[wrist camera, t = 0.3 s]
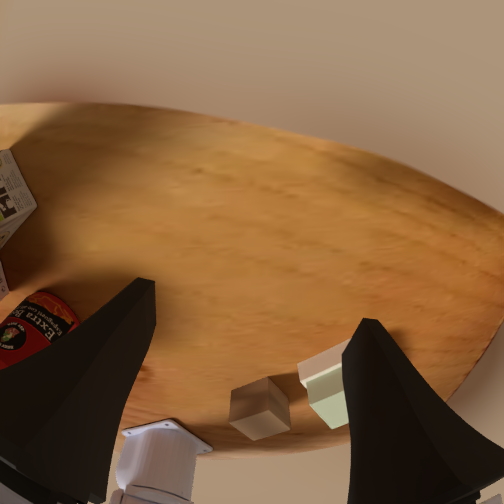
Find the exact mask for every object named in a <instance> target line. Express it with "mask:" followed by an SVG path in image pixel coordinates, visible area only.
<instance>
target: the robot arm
mask: <svg viewBox="0 0 504 504" xmlns="http://www.w3.org/2000/svg"><path fill="white" fill-rule="evenodd" d="M155 326H156V306H155V281H152V280H148V279H143V278H139V277H138V278H136V279H135V280H134V281H133V282H131V283H130V284H129V285H128V286H127V287H125V288H124V289H123V290H122V291H121V292H120V293H118V294H117V295H116V296H115V297H114V298H112V299H111V300H110V301H109V302H108V303H106V304H105V305H104V306H103V307H101V308H100V309H99V310H98V311H97V312H95V313H94V314H93V315H92V316H90V317H89V318H88V319H86V320H85V321H84V322H82V323H81V324H80V325H78V326H77V327H76V328H74V329H73V330H72V331H70V332H69V333H67V334H66V335H64V336H63V337H61V338H60V339H58V340H57V341H55V342H54V343H52V344H50V345H49V346H47V347H45V348H44V349H42V350H40V351H38V352H36V353H35V354H33V355H31V356H29V357H27V358H25V359H23V360H21V361H19V362H17V363H15V364H13V365H11V366H8V367H6V368H4V369H1V370H0V504H77V503H78V504H87V503H88V501H89V502H91V503H94V504H100V503H103V502H105V501H106V493H107V485H108V476H109V471H110V465H111V459H112V454H113V449H114V445H115V440H116V436H117V432H118V428H119V424H120V420H121V417H122V413H123V409H124V407H125V404H126V401H127V398H128V396H129V393H130V391H131V389H132V386H133V384H134V382H135V379H136V377H137V374H138V372H139V370H140V368H141V365H142V363H143V361H144V358H145V356H146V354H147V351H148V349H149V346H150V343H151V339H152V336H153V333H154V329H155ZM341 355H342V381H343V388H344V394H345V401H346V407H347V414H348V420H349V427H350V437H351V469H350V485H349V493H348V501H347V504H476V500H477V499H480V497H481V495H480V490H482V489H484V488H486V487H487V486H489V485H491V484H493V483H495V482H496V481H498V480H500V479H501V478H503V477H504V449H503V448H502V447H500V446H499V445H497V444H495V443H494V442H492V441H490V440H489V439H487V438H486V437H484V436H483V435H482V434H480V433H479V432H478V431H476V430H475V429H474V428H472V427H471V426H470V425H469V424H468V423H466V422H465V421H464V420H463V419H462V418H461V417H460V416H458V415H457V414H456V413H455V412H454V411H453V410H452V409H451V408H450V407H449V406H448V405H447V404H446V403H445V402H444V401H443V400H442V399H441V398H440V397H439V396H438V395H437V394H436V392H435V391H434V390H433V389H432V388H431V387H430V386H429V384H428V383H427V382H426V381H425V380H424V378H423V377H422V376H421V375H420V373H419V372H418V371H417V370H416V368H415V367H414V366H413V365H412V363H411V362H410V361H409V359H408V358H407V357H406V355H405V354H404V353H403V351H402V350H401V349H400V347H399V346H398V345H397V343H396V342H395V341H394V339H393V338H392V337H391V336H390V334H389V333H388V332H387V330H386V329H385V328H384V327H383V325H382V324H381V323H380V322H379V321H378V320H376V319H368V318H363V319H362V321H361V322H360V324H359V326H358V328H357V329H356V331H355V333H354V334H353V336H352V338H351V340H350V341H349V343H348V345H347V346H346V348H345V350H344V351H343V353H342V354H341ZM122 434H123V435H124V436H126V439H125V442H124V445H123V448H122V451H121V454H120V458H119V461H118V464H117V467H116V480H117V483H118V485H119V487H120V489H118V490H116V491H114V492H113V494H112V496H111V499H110V502H109V504H194V502H191V494H192V487H193V479H194V471H195V465H196V458H197V454H202V453H207V452H211V451H213V448H212V447H211V446H209V445H208V444H206V443H205V442H203V441H201V440H200V439H199V438H197V437H196V436H194V435H193V434H191V433H190V432H188V431H187V430H186V429H184V428H183V427H181V426H180V425H179V424H177V423H176V422H174V421H173V420H170V419H168V420H164V421H160V422H156V423H152V424H148V425H144V426H139V427H135V428H130V429H126V430H122ZM480 504H502V498H501V494H497V495H496V496H494V497H492V498H490V499H488V500H486V501H484V502H482V503H480Z"/></svg>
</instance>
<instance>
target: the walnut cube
mask: <svg viewBox="0 0 504 504" xmlns="http://www.w3.org/2000/svg"><path fill="white" fill-rule="evenodd" d="M229 423H230V424H231V425H232V426H234V427H235V428H236V429H238V430H239V431H240V432H242V433H243V434H244V435H246V436H247V437H249V438H250V439H251V440H253V441H255V440H259V439H262V438H266V437H269V436H272V435H276V434H279V433H282V432H285V431H288V430H291V423H290V412H289V402H288V397H287V396H286V395H285V394H284V393H283V392H282V391H281V390H280V389H279V388H278V387H277V386H276V385H275V384H274V383H273V382H272V381H271V380H270V378H269V377H268V376H267V377H265V378H262V379H260V380H257V381H255V382H252V383H250V384H247V385H245V386H242V387H239V388H237V389H234V390H231V401H230V414H229Z"/></svg>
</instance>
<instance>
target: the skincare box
mask: <svg viewBox="0 0 504 504" xmlns="http://www.w3.org/2000/svg"><path fill="white" fill-rule="evenodd" d="M8 294H9V289H8V286H7V283H6V279H5V276H4V272H3V268H2V265H1V261H0V301H1V300H2V299H3V298H4V297H5V296H6V295H8Z"/></svg>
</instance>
